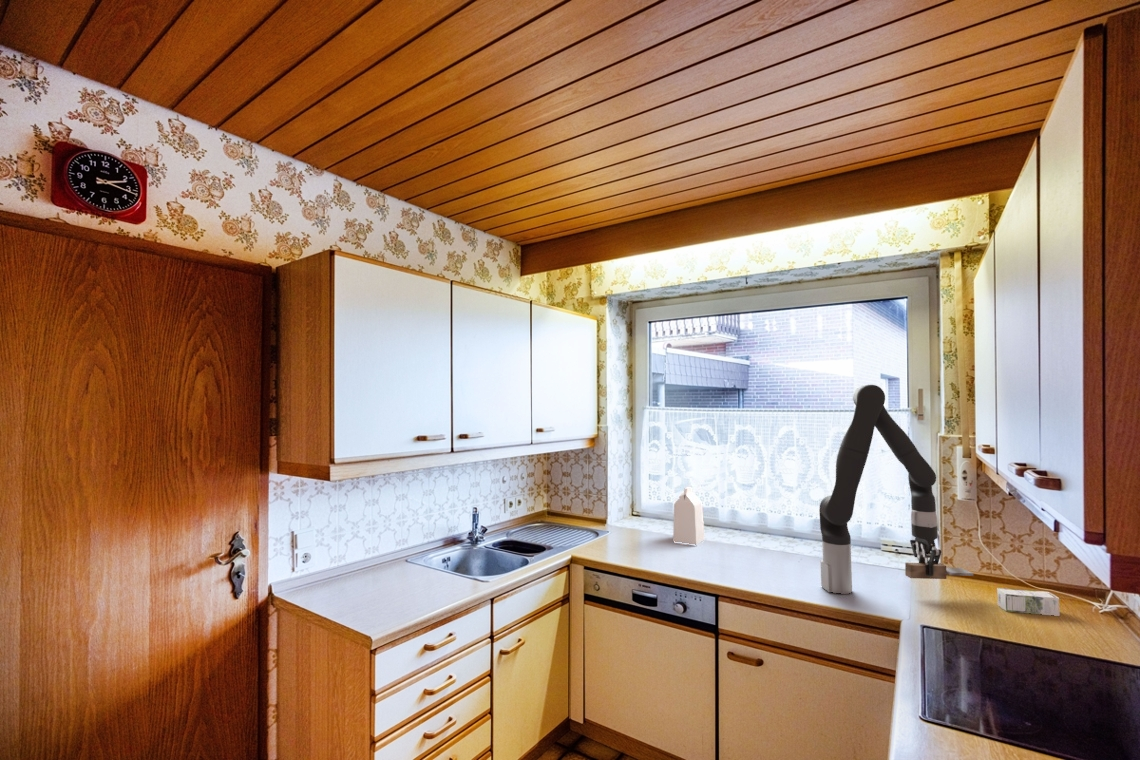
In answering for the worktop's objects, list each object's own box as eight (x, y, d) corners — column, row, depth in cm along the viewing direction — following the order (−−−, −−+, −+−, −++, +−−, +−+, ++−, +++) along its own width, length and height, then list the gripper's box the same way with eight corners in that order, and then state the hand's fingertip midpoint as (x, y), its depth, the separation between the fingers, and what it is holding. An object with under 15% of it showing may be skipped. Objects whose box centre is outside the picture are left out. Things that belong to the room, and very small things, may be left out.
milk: (696, 546, 248) (695, 490, 249) (673, 543, 254) (672, 488, 255) (704, 540, 258) (703, 486, 259) (682, 537, 264) (681, 484, 265)
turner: (913, 579, 180) (913, 566, 180) (902, 573, 186) (902, 561, 186) (973, 581, 180) (973, 568, 180) (961, 575, 186) (960, 562, 186)
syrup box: (997, 605, 175) (1049, 609, 171) (1006, 612, 170) (1061, 616, 166) (996, 587, 176) (1049, 591, 172) (1005, 594, 170) (1060, 598, 166)
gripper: (901, 518, 191) (903, 567, 190) (926, 528, 177) (928, 580, 176) (922, 518, 190) (924, 567, 190) (949, 528, 176) (951, 580, 176)
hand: (926, 573), depth 183 cm, fingers closed on turner, 3 cm apart
